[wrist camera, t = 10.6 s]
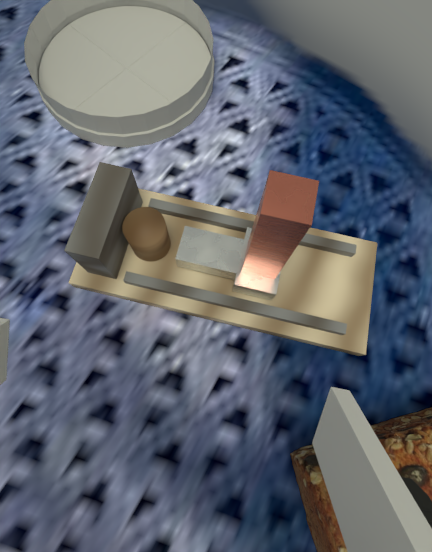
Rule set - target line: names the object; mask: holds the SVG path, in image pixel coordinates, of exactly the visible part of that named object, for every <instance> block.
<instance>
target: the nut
mask: <svg viewBox="0 0 432 552" xmlns="http://www.w3.org/2000/svg"><path fill="white" fill-rule="evenodd" d="M122 230H123V234H124V236H125V238H126V239H127V241H128V243H129V244H130V246H131V248H132V250H133V251H134V253H135V255H136V256H137V257H138V258H140V259H142V260H144V261H150V262H151V261H157V260H159V259H161V258H163V257H164V256H165V255H166V254H167V253H168V251H169V249H170V246H171V240H170V236H169V233H168V230H167V226H166V223H165V219H164V217H163V215H162V214H161V213H160V212H159V211H158V210H156V209H154V208H151V207H140V208H137V209H134V210H133V211H131V212H130V213H129V214H128V215H127V216H126V217H125V219H124V221H123V225H122Z"/></svg>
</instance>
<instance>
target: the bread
mask: <svg viewBox="0 0 432 552" xmlns="http://www.w3.org/2000/svg"><path fill="white" fill-rule="evenodd" d="M371 428H372V429H373V431H374V433H375V434H376V436H377V438H378V439H379V441H380V443H381V444H382V446H383V448H384V449H385V451H386V453H387V454H388V456H389V458H390V460H391V461H392V463H393V465H394V466H395V468H396V470H397V471H398V473H399V475H400V476H401V477H405V478H410V479H412V480H413V481H414V482H415V483H416V484H417V485H418V486H419V487H420V488H421V489H422V490H423V491H424V492H425V493H426V494H427V495H428V496H429V498H430V499H431V501H432V408H428V409H424V410H421V411H419V412H416V413H410V414H407V415H403V416H399V417H397V418H392V419H390V420H387V421H383V422H380V423H378V424H374V425H371ZM290 455H291V458H292V464H293V467H294V471H295V475H296V480H297V483H298V485H299V489H300V495H301V498H302V501H303V505H304V508H305V511H306V519H307V522H308V525H309V528H310V531H311V535H312V538H313V541H314V544H315V547H316V550H317V552H348V551H347V548H346V545H345V542H344V539H343V536H342V533H341V530H340V527H339V524H338V521H337V518H336V515H335V512H334V509H333V505H332V502H331V499H330V496H329V493H328V490H327V487H326V484H325V481H324V478H323V475H322V472H321V469H320V466H319V463H318V459H317V456H316V453H315V450H314V447H313V444H312V445H309V446H305V447H302V448H300V449H298V450H295V451H294V452H292V453H291V454H290Z"/></svg>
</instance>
